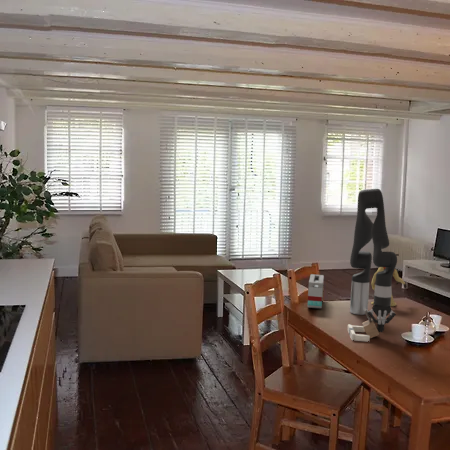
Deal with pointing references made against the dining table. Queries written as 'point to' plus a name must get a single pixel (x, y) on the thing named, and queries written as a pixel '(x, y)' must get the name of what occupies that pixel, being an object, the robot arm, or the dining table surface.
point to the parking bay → (356, 336)
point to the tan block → (370, 326)
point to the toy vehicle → (315, 291)
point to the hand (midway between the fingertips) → (380, 331)
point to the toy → (395, 279)
